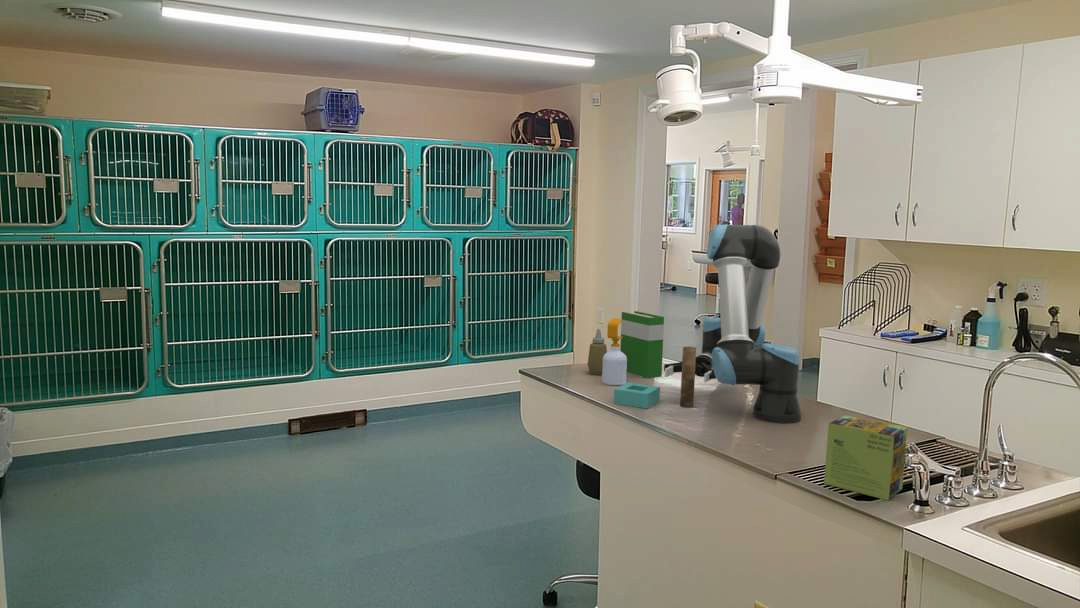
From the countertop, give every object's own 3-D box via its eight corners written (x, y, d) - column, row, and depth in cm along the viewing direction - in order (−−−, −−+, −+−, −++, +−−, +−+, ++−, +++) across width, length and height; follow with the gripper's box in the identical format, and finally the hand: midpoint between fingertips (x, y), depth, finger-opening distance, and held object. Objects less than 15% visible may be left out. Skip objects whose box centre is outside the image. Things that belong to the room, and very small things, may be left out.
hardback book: (619, 369, 307) (621, 312, 304) (633, 368, 311) (636, 311, 308) (646, 378, 292) (649, 318, 289) (661, 376, 296) (664, 316, 292)
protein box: (889, 501, 172) (895, 436, 170) (823, 484, 182) (827, 422, 180) (903, 489, 180) (908, 426, 178) (838, 473, 190) (843, 414, 188)
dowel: (695, 405, 253) (697, 347, 250) (691, 408, 249) (693, 349, 246) (682, 403, 255) (685, 346, 252) (678, 406, 251) (681, 348, 249)
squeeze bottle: (607, 372, 302) (608, 328, 300) (607, 376, 294) (608, 331, 292) (587, 371, 303) (588, 327, 300) (586, 375, 295) (588, 330, 292)
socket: (659, 401, 258) (660, 386, 257) (647, 408, 247) (647, 394, 247) (627, 396, 263) (627, 382, 263) (613, 403, 253) (614, 389, 252)
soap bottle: (629, 382, 284) (632, 318, 281) (619, 387, 277) (621, 321, 274) (609, 379, 289) (611, 316, 286) (597, 383, 282) (599, 319, 278)
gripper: (738, 379, 261) (721, 391, 243) (670, 370, 273) (649, 381, 254) (739, 358, 260) (722, 369, 242) (671, 350, 272) (650, 360, 254)
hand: (685, 375), depth 248 cm, fingers open, 13 cm apart
